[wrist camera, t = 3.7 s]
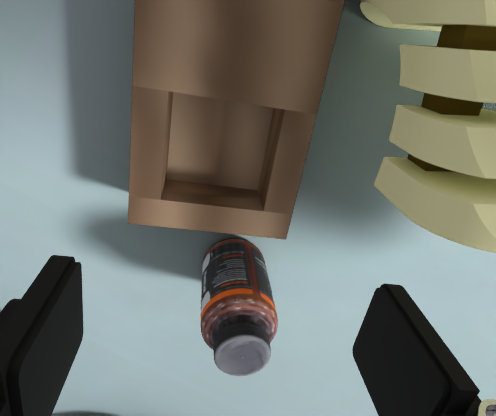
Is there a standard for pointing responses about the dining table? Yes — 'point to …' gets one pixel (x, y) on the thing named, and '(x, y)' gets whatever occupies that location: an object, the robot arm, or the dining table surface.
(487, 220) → the slatted curved stool
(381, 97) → the dining table surface
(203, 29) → the socket block
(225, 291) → the supplement bottle
